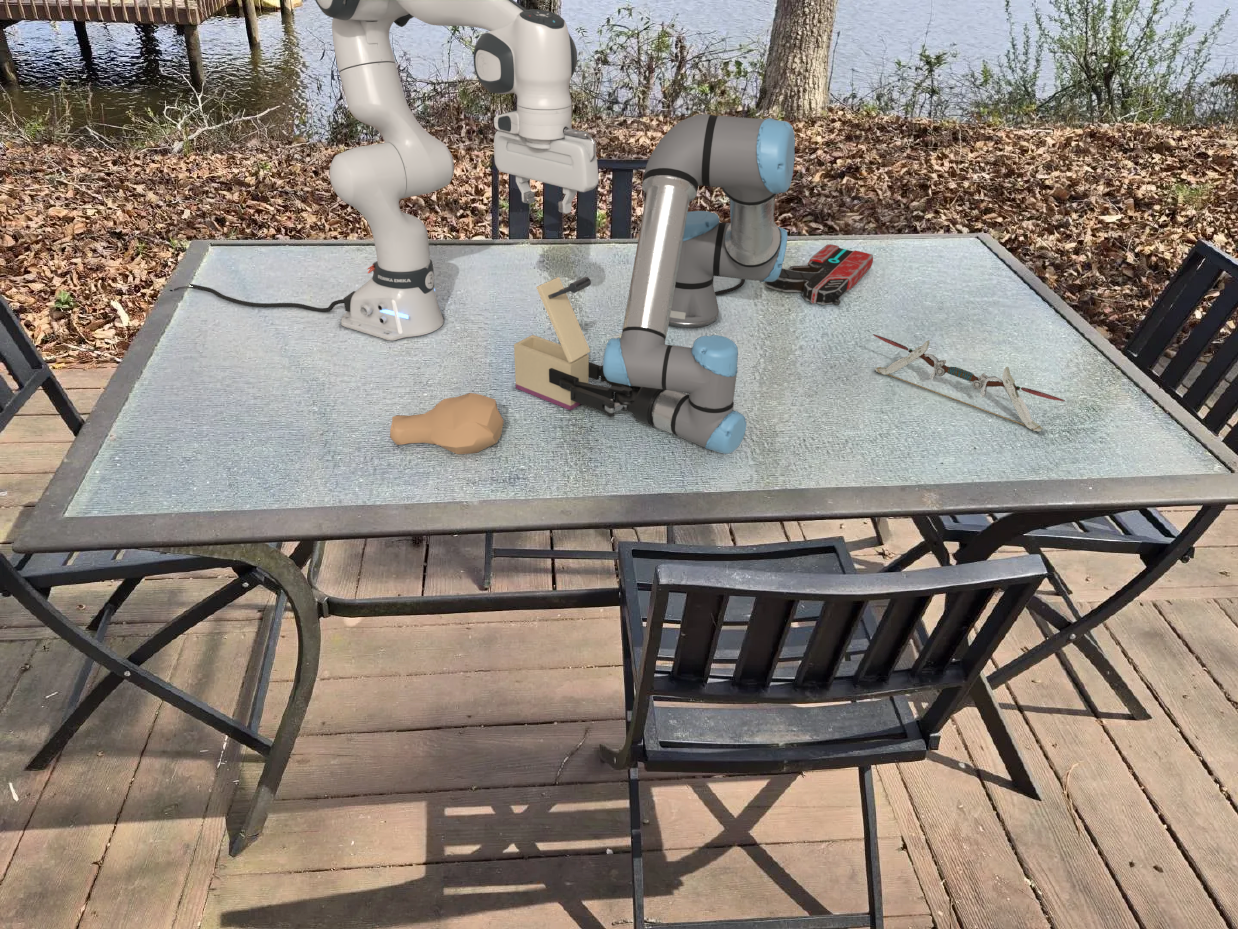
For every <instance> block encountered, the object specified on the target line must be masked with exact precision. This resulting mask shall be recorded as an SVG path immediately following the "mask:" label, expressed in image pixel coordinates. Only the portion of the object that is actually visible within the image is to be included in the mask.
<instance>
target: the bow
mask: <svg viewBox="0 0 1238 929" xmlns="http://www.w3.org/2000/svg"><path fill="white" fill-rule="evenodd" d="M872 336H873V337H875V338H877V339H879V340H880V341H883V342H884V343H887V344H889V345H891V346H894V347H896V348H898V349H901V350H904V351H908V353H909V355H907V356H904V357H901V358H900V359H898V360H896V361H894V362H892V363H891V364H890V365H889V366H887V367H886V366H884V367H883V366H882V367H881V366H876V367H875V368H874V371H875V372H876V373H878V374H880V375H884V376H885V375H887V376H889V377H892V378H895V379H898V380H900V381H902V382H906V383H908V384H910V385H914V386H916V387H919V388H922V389H925V390H926V391H930V392H932V393H935V394H938V395H940V396H943V397H946V398H949V399H951V400H953V401H957V402H959V403H962V404H966V405H967V406H971V407H973V408H976V409H979V410H982V411H984V412H987V413H990V414H992V415H995V416H998V417H1000V418H1003V419H1005V420H1008V421H1011V422H1014V423H1016V424H1019V425H1022V426H1025V427H1026V428H1027V429H1029V430H1031V431H1034V432H1041V431H1042V430H1043V429H1044V427H1042V426H1041V424H1040V425H1039V424H1038V423H1037V422H1036V421H1034V420H1033V419H1032V416H1031V413H1030V410H1029V409H1028V407H1027V404H1026V403H1025V401H1024V400H1023V398H1022V397H1021V396H1020V394H1019V392H1018V391H1020V390H1021V391H1022V392H1025V393H1028V394H1030V395H1033V396H1037V397H1041V398H1043V399H1044V398H1045V399H1047V400H1052V401H1057V402H1058V401H1059V402H1065V401H1066V399H1063V398H1060V397H1057V396H1055V395H1051V394H1050V393H1049V394H1048V393H1046V392H1042V391H1040V390H1036V389H1032V388H1028V387H1023V386H1022V387H1021V386H1018V385H1016V383H1015V382H1016V381H1015V379H1014V378H1013V376H1012V375H1011V370H1010V367H1009V366H1006V367H1004V369H1003V372H1002V375H1001V378H1000V377H999V376H994V375H993V376H988V375H987V374H986V373H985V372H983V373H981V374H980V375H979V376H976V375H975V374H974V373H972V371H969V370H966V369H963V368H961V367H957V366H948V365H946V364H947V359H938V357H937V356H936V355H934V354H931V353H926V352H927V351H928V350H929V346H930V343H931V341H930V340H929V339H927V340H926V341H924V343H923V344H922V345H920V346H918V347H916V348H915V349H912V348H909V347H908V346H906V345H903V344H901V343H898V342H897V341H894V340H892V339H889V338H886V337H883V336H880V335H878V334H874V333H873V334H872ZM921 359H922V360H923V361H924V362H925V363H926V364H928V365H929V367H931V368H932V372H931V373H930V375H929V376H928V377H929V379H931V380H934V379H936V378H937V377H936V376H939V377H943V376H945V375H946V374H948V375H951V376H953V377H957V378H959V379H962V380H964V381H967V382H971V383H972V387H973V388H974V389H975V390H979V391H980V392H979V394H980V395H979V397H981V398H983V399H984V398H985V397H987V396H988V395H987V393H988V390H987V388H988V387H990V388H998V387H1001V388H1003V389H1004V391H1005V392H1006V394H1007V396H1008V397H1009V398H1010V401H1011V402H1012V405H1013V407H1014V409H1015V410H1016V412H1017V416H1018V418H1020V420H1021V422H1019V421H1017V420H1014V419H1011V418H1009V417H1005V416H1003V415H1000V414H997V413H995V412H993V411H990V410H987V409H985V408H981V407H979V406H976V405H974V404H970V403H968V402H965V401H962V400H959V399H957V398H954V397H951V396H948V395H946V394H943V393H941V392H938V391H935V390H933V389H930V388H928V387H924V386H922V385H920V384H916V383H913V382H911V381H908V380H906V379H903V378H900V377H897V376H895V375H892V374H893V373H894V372H898V371H900V370H901V369H903V368H904V367H906V366H908V365H910V364H912V363H914V362H916V361H918V360H921Z"/></svg>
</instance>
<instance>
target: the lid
mask: <svg viewBox="0 0 1238 929" xmlns="http://www.w3.org/2000/svg"><path fill="white" fill-rule="evenodd" d="M591 284H592V280H591V279H590V277H588V276H584V277H583V276H582V277H581V278H579V279H576V280H575V281H573V282H570V283H569V285H568V286H566V287H564V285H563V283H562V281H561V278H560V276H557V277H555V278H553V279H550V280H549V281H546V282H544V283H542V284H540V285H537V286H536V290H537V293H538V295H539V297H540V300H541V302H542V304H543V306H544V309H545V311H546V313H547V315H548V318H549V321H550V323H551V325H552V328H553V330H554V332H555V334H556V336H557V339H558V341H559V344H560V345H561V346H562V348H563V351H564V353H565V355H566V358H567V360H568V362H569V363H570V362H573V361H575V360H577V359H578V358H580V357H582V356H584V355H585V354H590V352H591V349H590V346H589V344H588V341H587V340H586V337H585V335H584V333H583V330H582V328H581V326H580V322H579V321H578V318H577V316H576V313H575V312H574V308H573V306H572V304H571V302H570V299H569V297H568V294H567V293H569V292H570V293H572V294H576V293H578V292H580V291H582V290H584V289H586V288H588V287H590V286H591Z"/></svg>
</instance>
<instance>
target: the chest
mask: <svg viewBox="0 0 1238 929" xmlns="http://www.w3.org/2000/svg"><path fill="white" fill-rule="evenodd" d="M513 353H514V376H515V378H514V379H515V389H517V390H518V391H522V392H523V393H527V394H528V395H532V396H533V397H537V398H539V399H541V400H544V401H547V402H548V403H551V404H554V405H556V406H558V407H561V408H563V409H566V410H569V411H572V410H574V409H575V408H577V407H579V406H581V404H580V403H577V402H575V401H572V400H571V394H570V391H568V390H566V389H563V388H561V387H560V386H558V385H555V384H553V383H550V382H549V369H550V368H553V369H556V370H558V371H561V372H564V373H566V374H569V375H572V376H574V377H577V378H579V382H584V383H589V377H588V375H589V360H590V355H589V353H587V354H585V355H584V356H582V357H580V358H578V359H577V360H575V361H573V362H570V363H569V362H568V360H567V358H566V355H565V353H564V351H563V348H562V346H561V344H560V343H557V342H554V341H552V340H548V339H546V338H543V337H540V336H537V335H536V334H535V335H534V334H532V335H529V336H528V337H526V338H523V339H522V340H519V341H517V342H515V343H514V344H513Z"/></svg>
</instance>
